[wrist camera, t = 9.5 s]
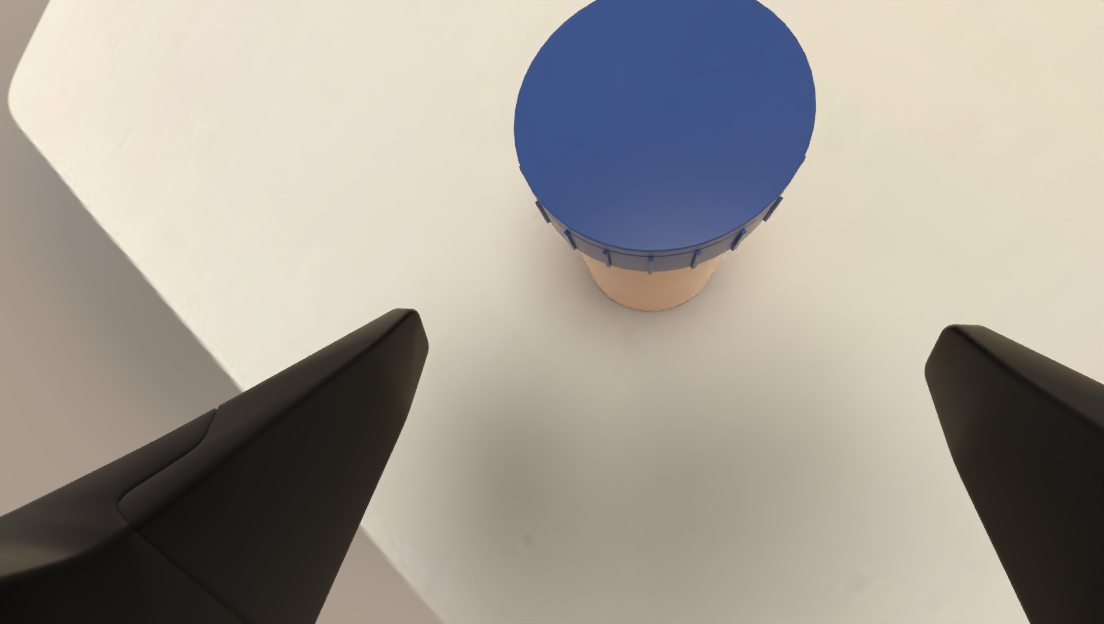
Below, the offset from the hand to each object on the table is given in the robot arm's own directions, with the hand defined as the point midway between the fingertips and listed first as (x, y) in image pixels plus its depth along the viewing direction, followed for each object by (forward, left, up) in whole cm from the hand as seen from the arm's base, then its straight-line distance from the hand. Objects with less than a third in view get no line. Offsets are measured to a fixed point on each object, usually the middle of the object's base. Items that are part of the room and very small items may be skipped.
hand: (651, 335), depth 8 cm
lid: (+5, +3, -2) cm, 6 cm away
